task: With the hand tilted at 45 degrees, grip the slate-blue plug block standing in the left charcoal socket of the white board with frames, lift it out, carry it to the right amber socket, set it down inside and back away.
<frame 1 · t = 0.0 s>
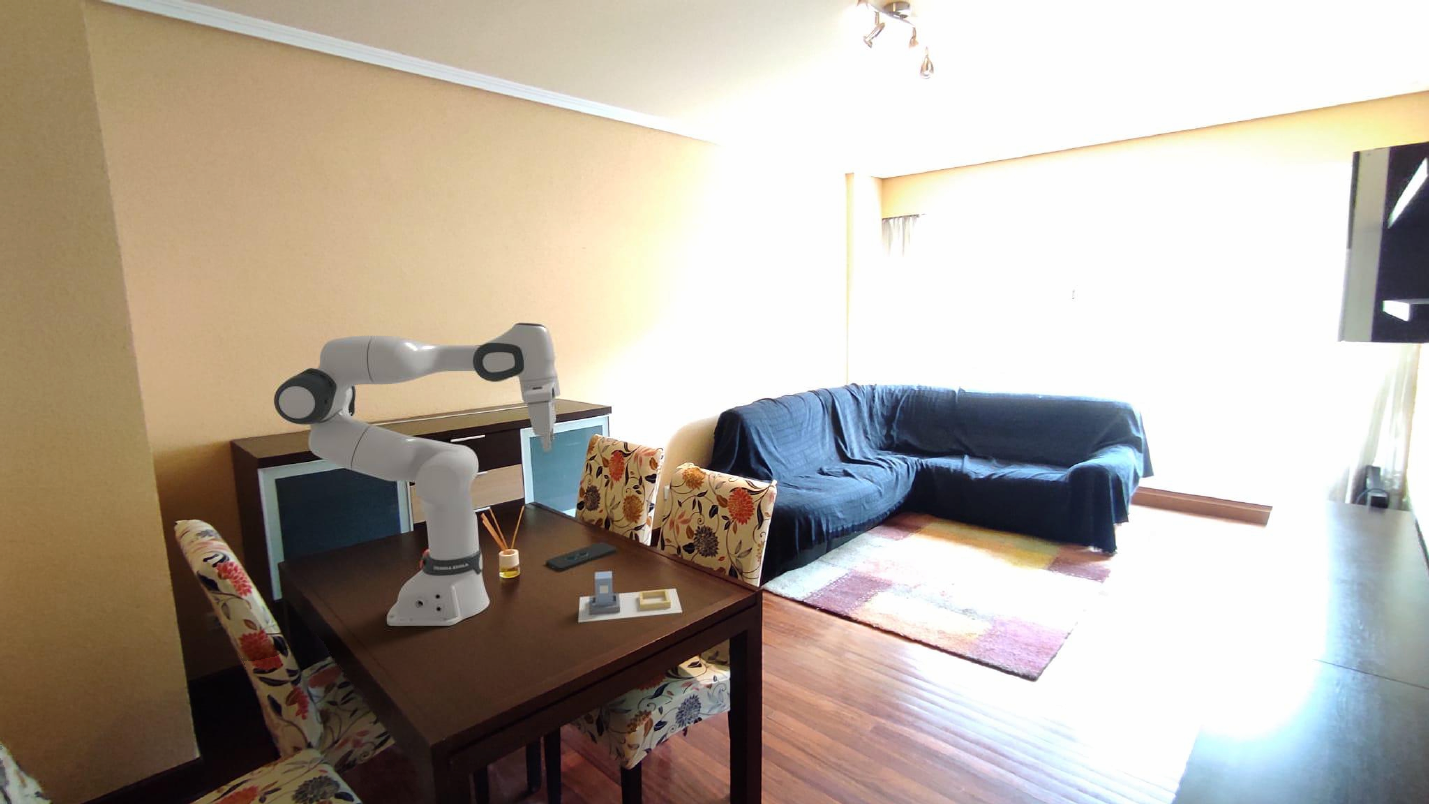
hand: (549, 446, 149), 39 cm above the table, tool pointing down, fingers open, 8 cm apart
smart home device: (582, 560, 181), on the table
plug: (604, 606, 149), point 1 cm above the table, touching white board with frames
white board with frames: (629, 606, 150), on the table
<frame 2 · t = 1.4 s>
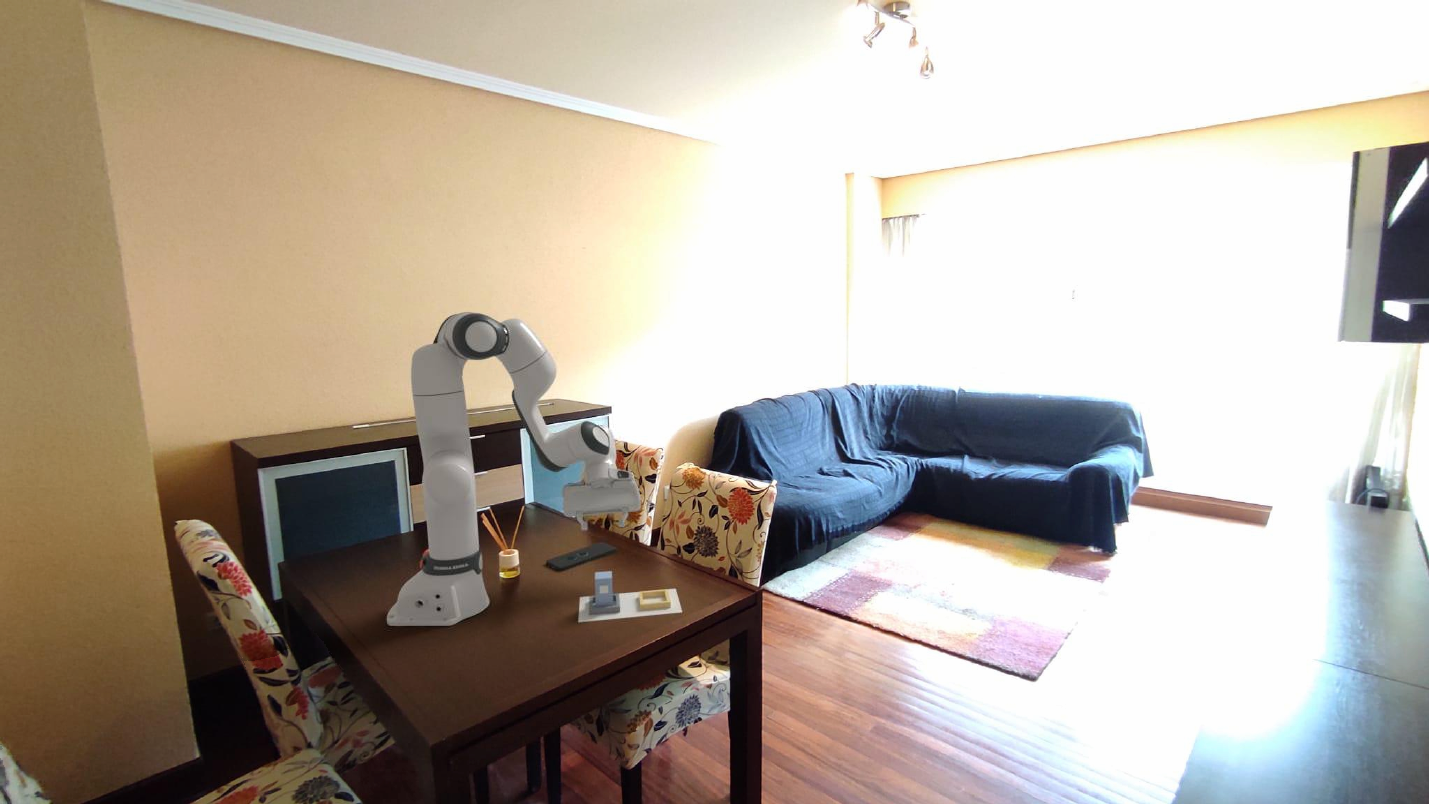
hand: (603, 527, 159), 16 cm above the table, tool tilted 45°, fingers open, 8 cm apart
nothing on the table moved.
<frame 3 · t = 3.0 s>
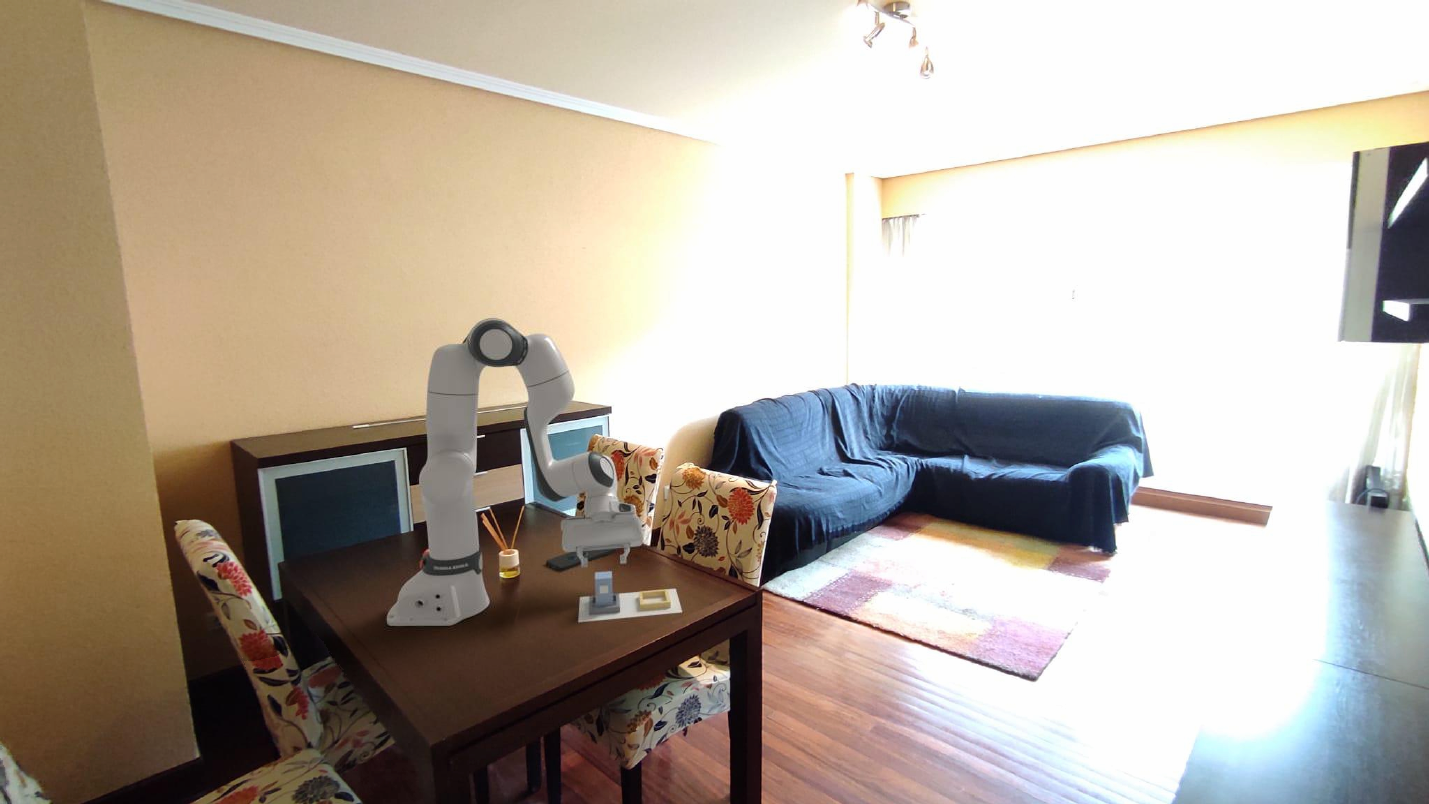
hand: (604, 564, 152), 9 cm above the table, tool tilted 45°, fingers open, 8 cm apart
nothing on the table moved.
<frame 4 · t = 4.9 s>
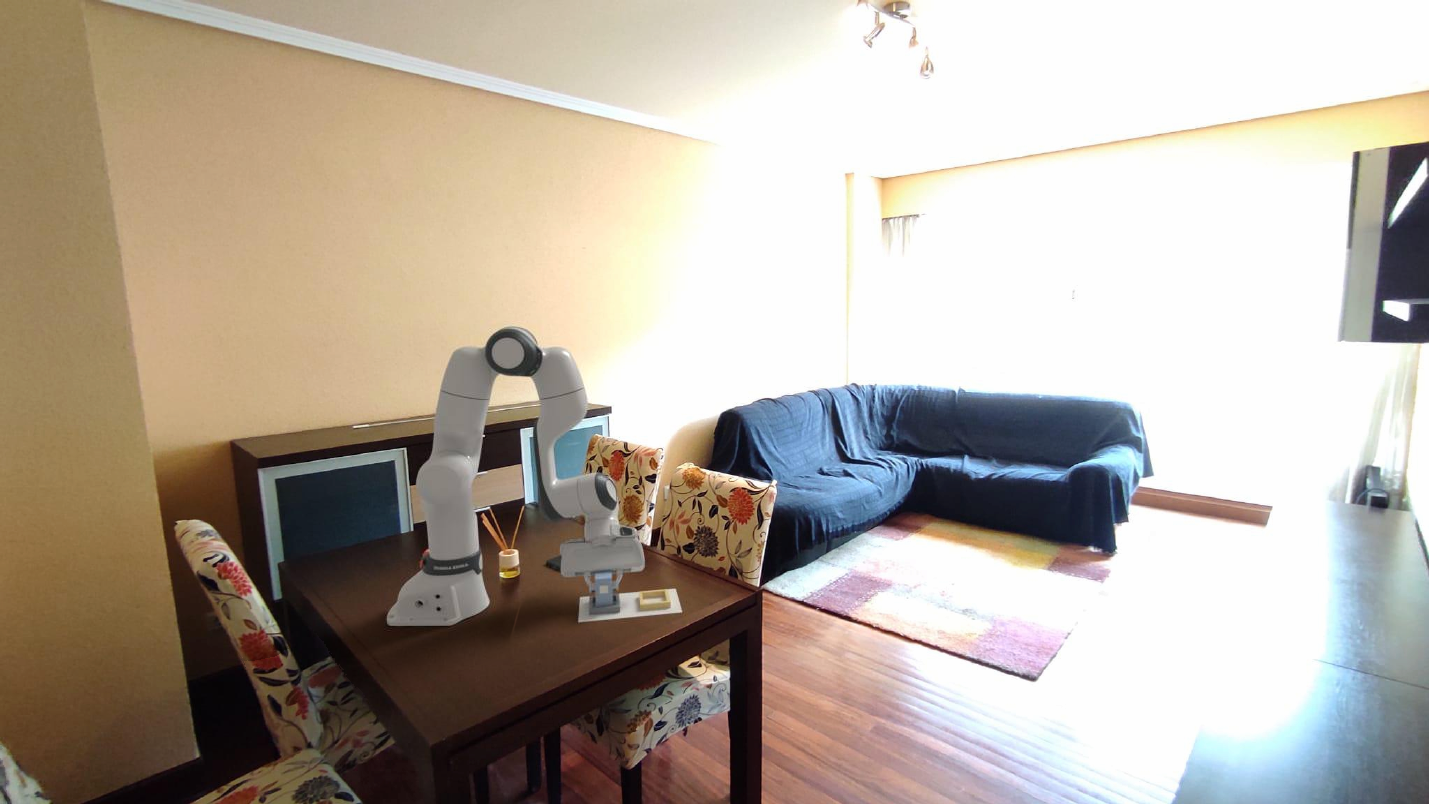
hand: (604, 590, 148), 5 cm above the table, tool tilted 45°, fingers closed on plug, 4 cm apart
plug: (604, 606, 149), point 1 cm above the table, touching gripper, white board with frames
everything else where it was.
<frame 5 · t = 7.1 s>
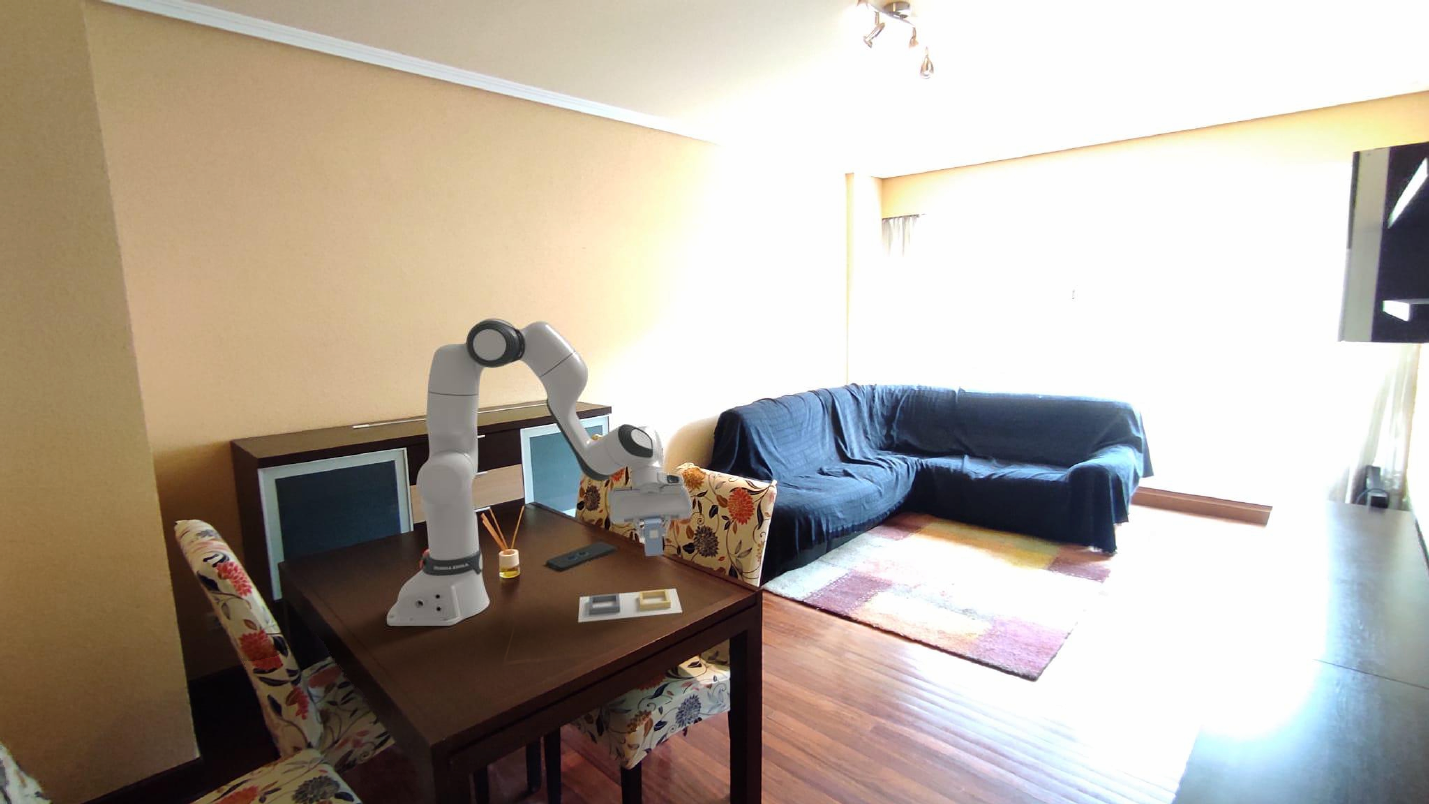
hand: (653, 536, 148), 18 cm above the table, tool tilted 45°, fingers closed on plug, 4 cm apart
plug: (653, 552, 150), point 13 cm above the table, touching gripper
everything else where it was.
when the fingers open (6 cm above the table, at t = 9.5 s): plug drops 1 cm, resting on white board with frames.
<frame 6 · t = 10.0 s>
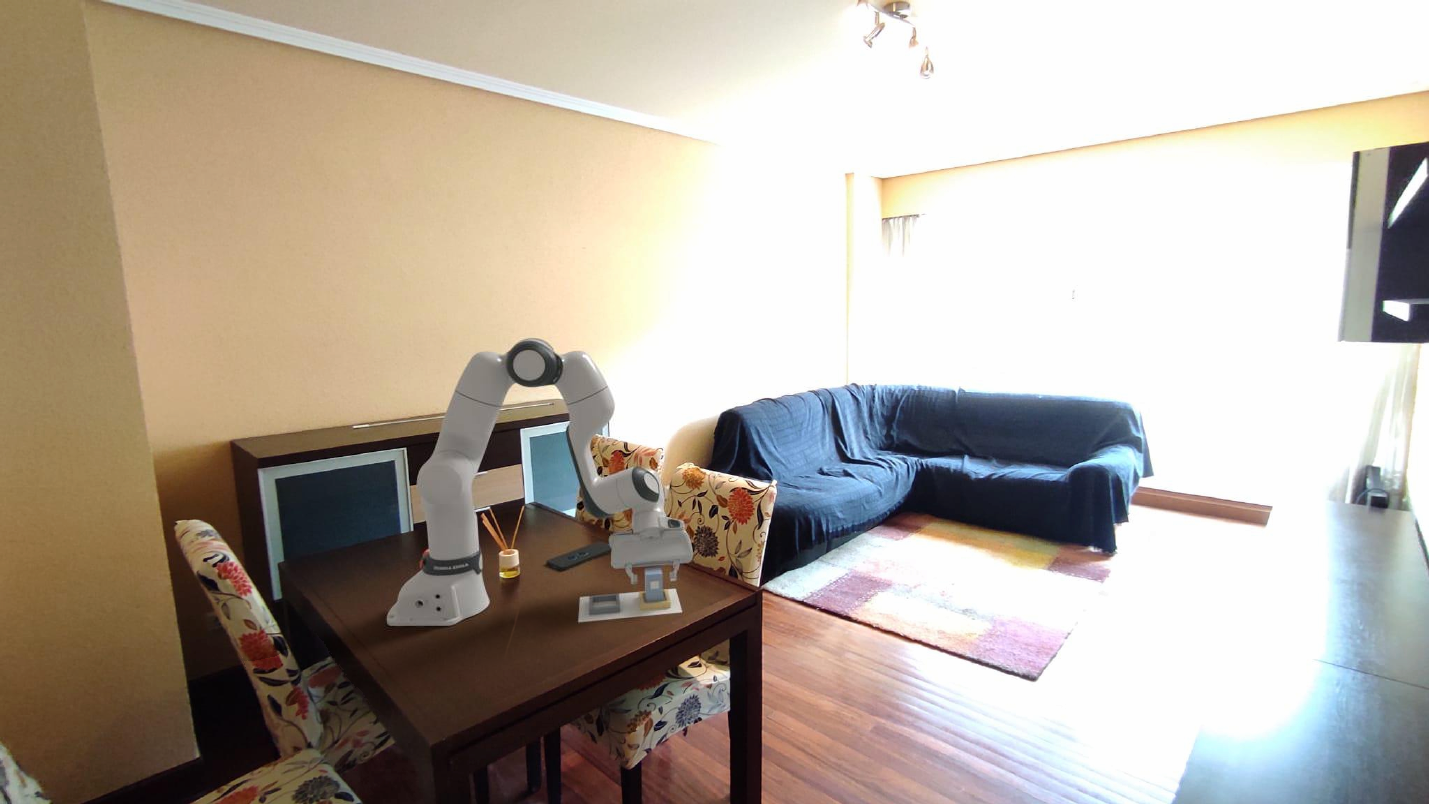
hand: (654, 581, 150), 6 cm above the table, tool tilted 45°, fingers open, 8 cm apart
plug: (654, 602, 151), point 1 cm above the table, touching white board with frames
everything else where it was.
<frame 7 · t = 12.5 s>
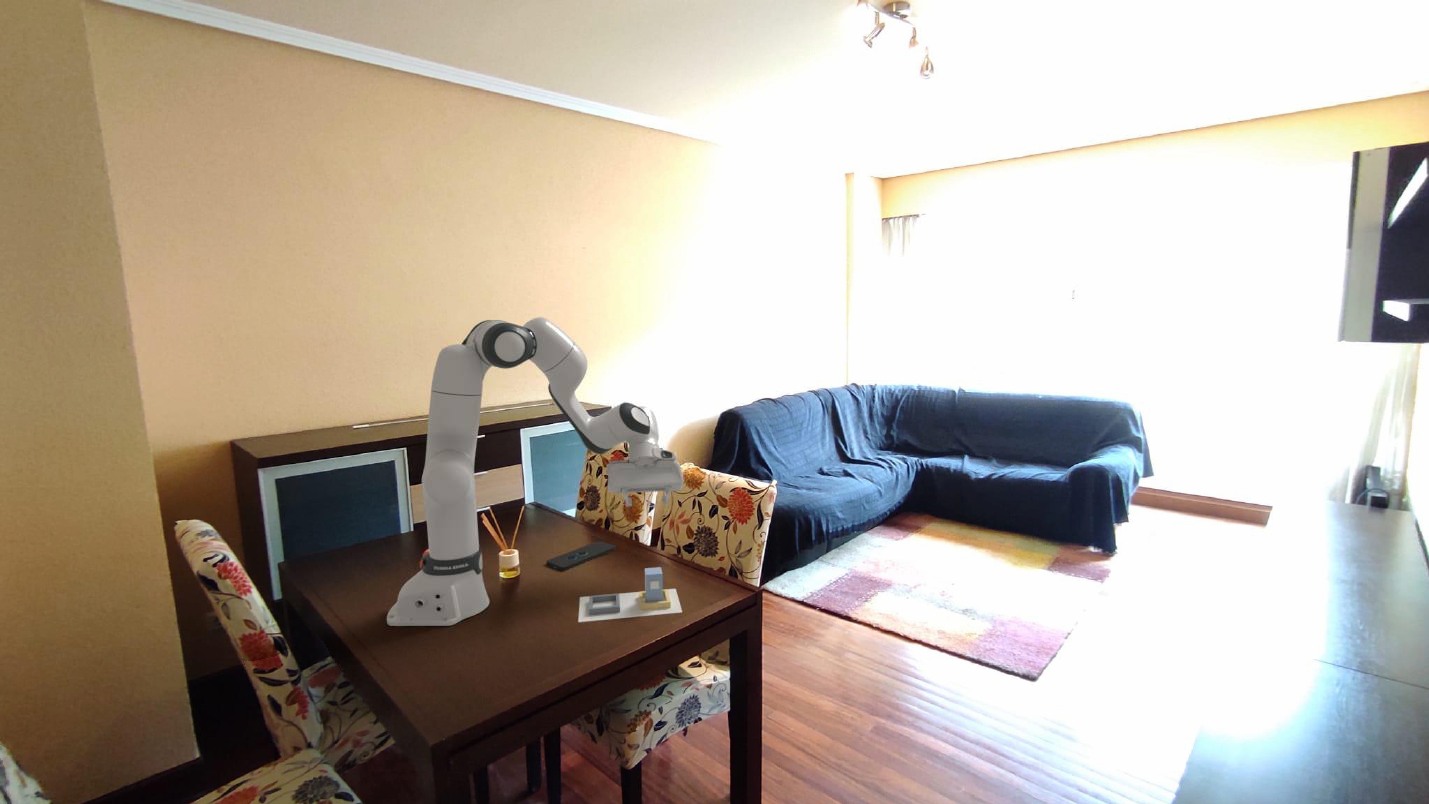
hand: (647, 504, 162), 21 cm above the table, tool tilted 45°, fingers open, 8 cm apart
nothing on the table moved.
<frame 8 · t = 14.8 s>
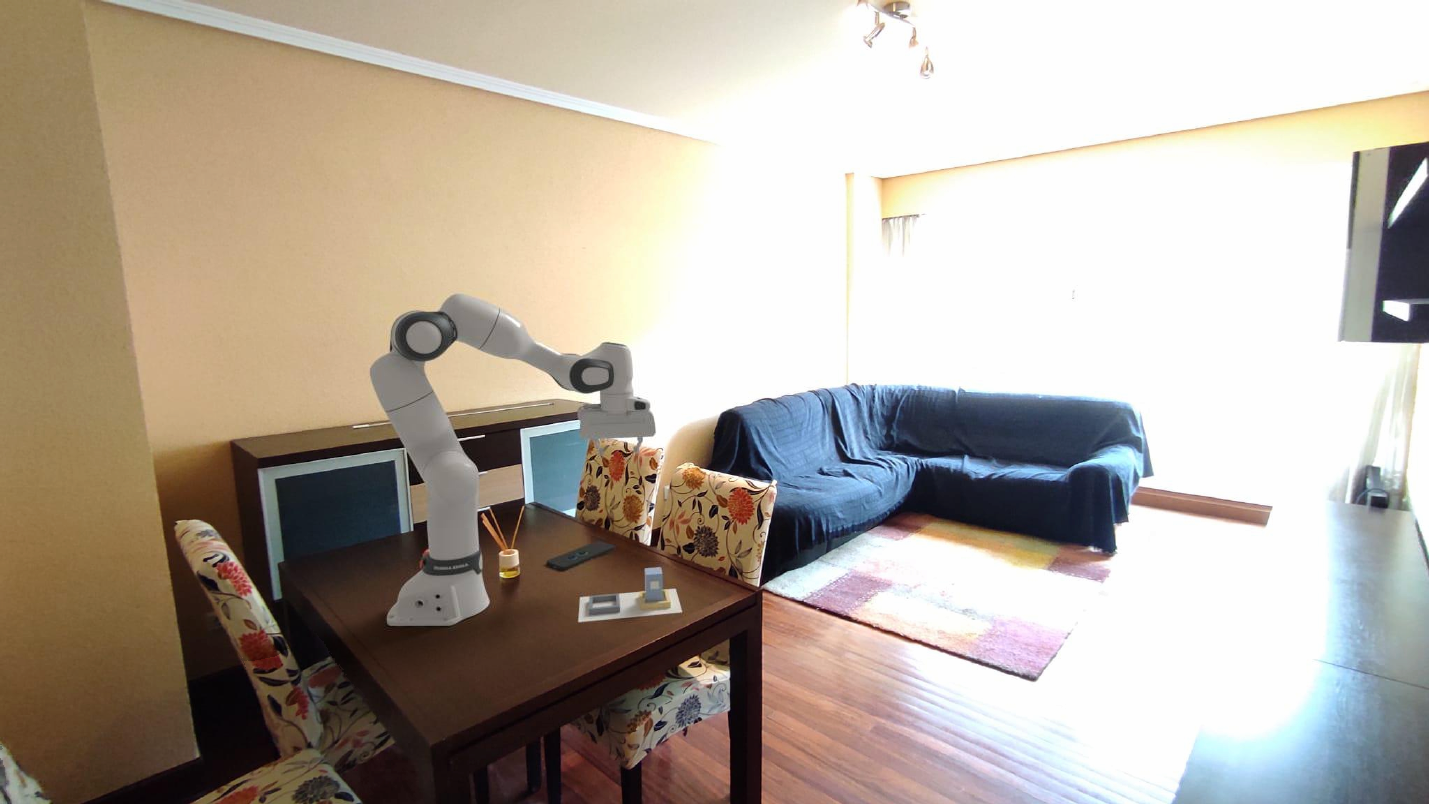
hand: (618, 454, 167), 33 cm above the table, tool pointing down, fingers open, 8 cm apart
nothing on the table moved.
at the end: plug 0.1 cm from the target spot on the white board with frames, point 0.6 cm above the white board with frames's base; plug tilted 0°; the gripper is holding nothing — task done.
